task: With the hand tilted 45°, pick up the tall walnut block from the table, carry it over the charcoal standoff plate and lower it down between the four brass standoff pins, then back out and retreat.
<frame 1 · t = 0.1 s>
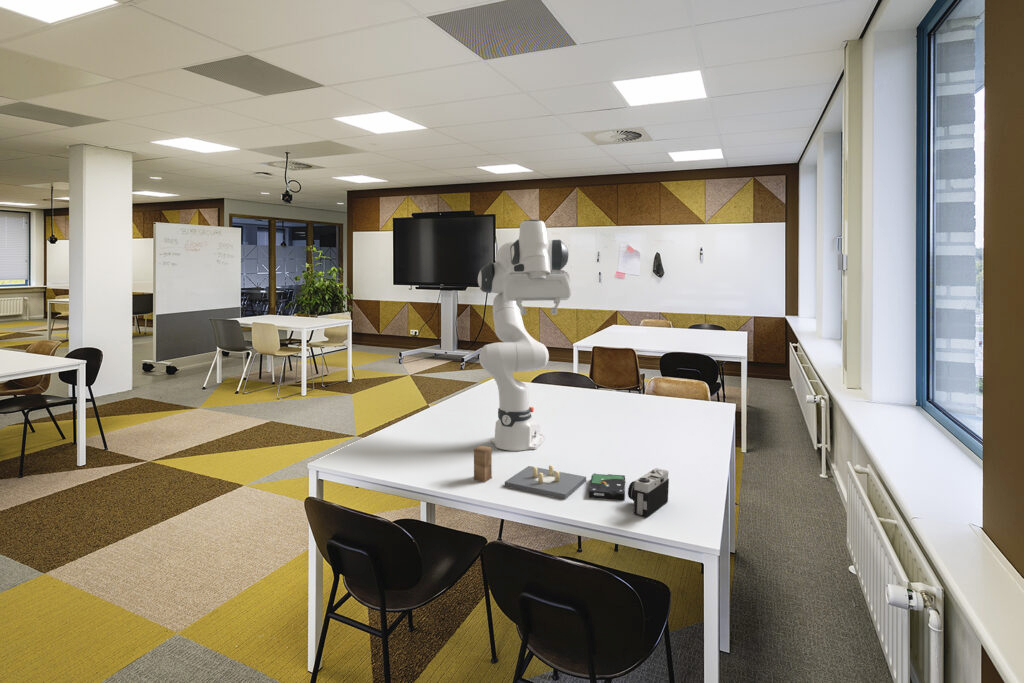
hand: (539, 314, 167), 52 cm above the table, tool tilted 20°, fingers open, 8 cm apart
standoff plate: (545, 483, 171), on the table
walnut block: (482, 479, 175), on the table
disk drive: (607, 491, 167), on the table
camera: (645, 507, 155), on the table
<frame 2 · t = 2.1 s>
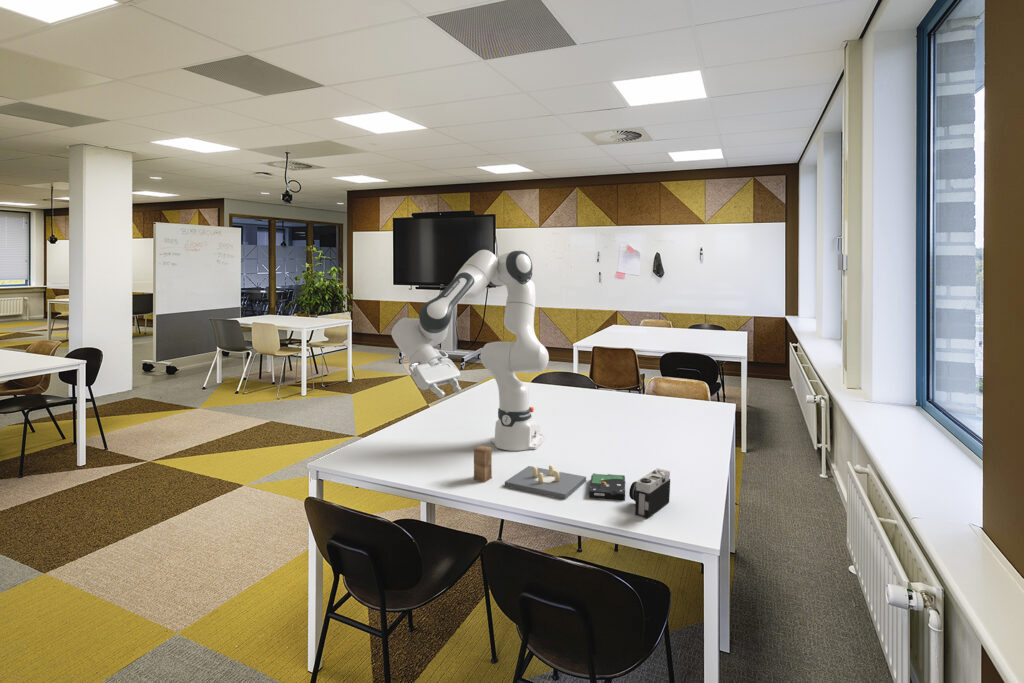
hand: (451, 394, 177), 26 cm above the table, tool tilted 45°, fingers open, 8 cm apart
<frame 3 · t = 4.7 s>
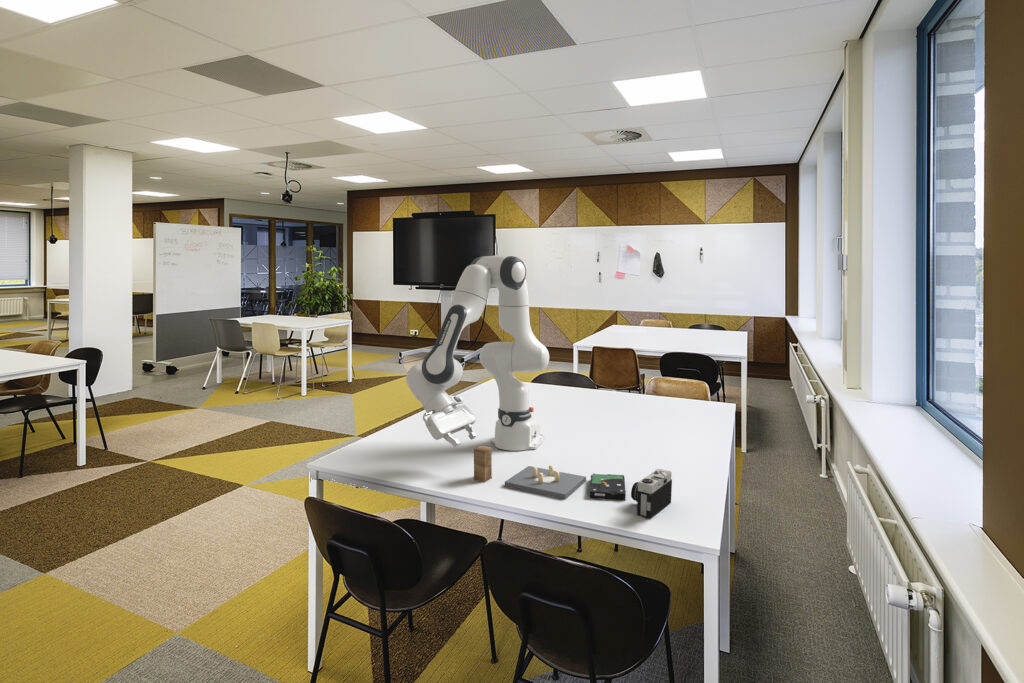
hand: (466, 441, 176), 11 cm above the table, tool tilted 45°, fingers open, 8 cm apart
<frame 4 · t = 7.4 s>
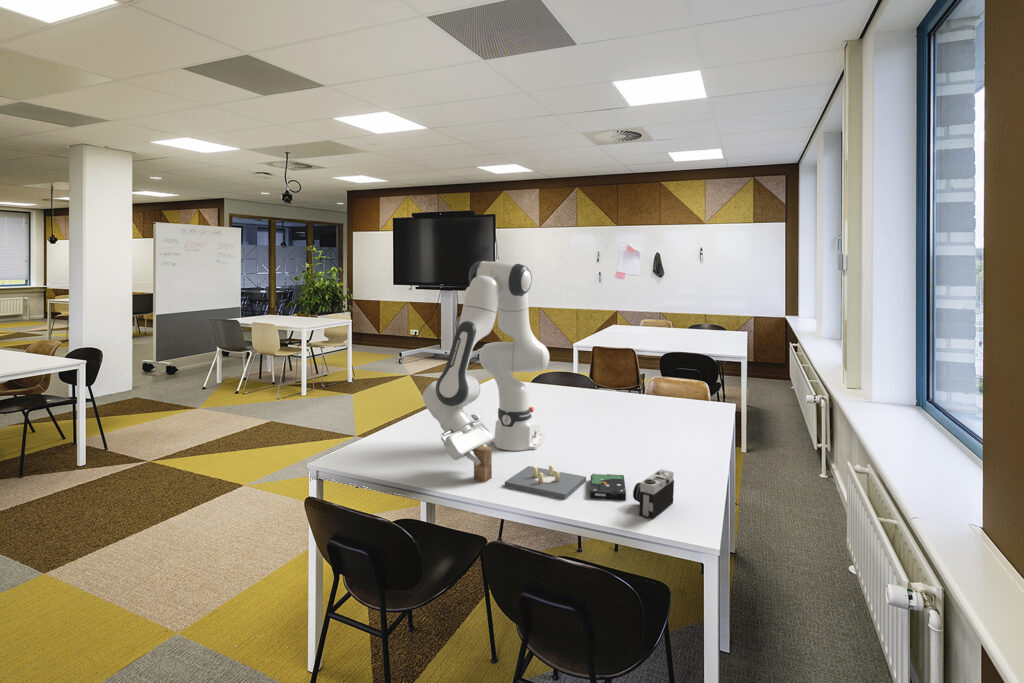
hand: (484, 461, 174), 6 cm above the table, tool tilted 45°, fingers closed on walnut block, 4 cm apart
walnut block: (482, 479, 175), on the table, touching gripper
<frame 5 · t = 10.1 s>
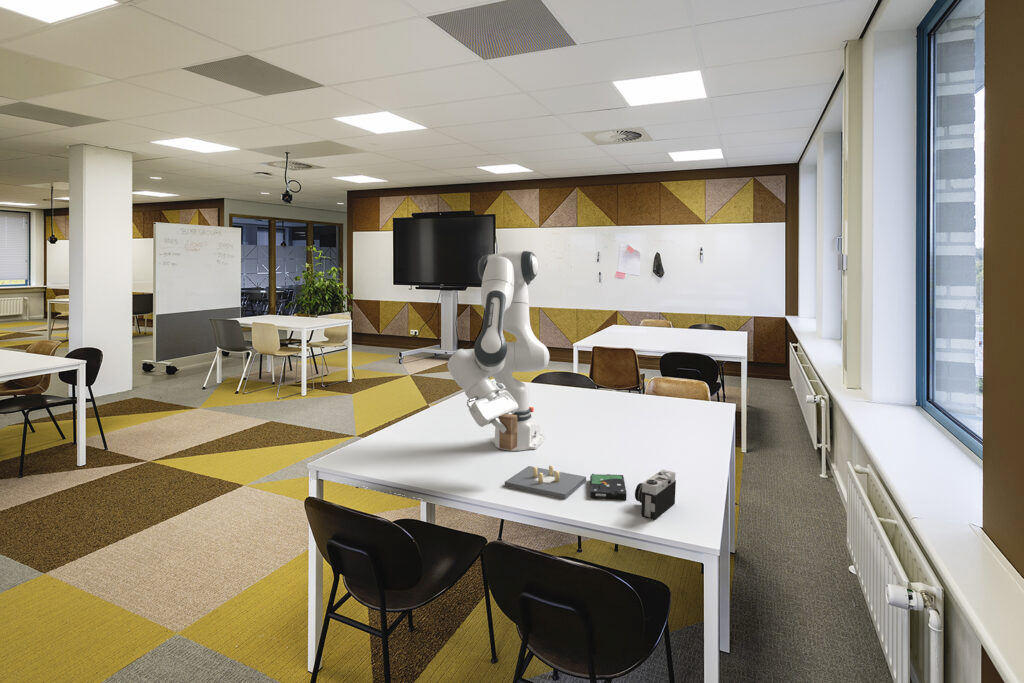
hand: (510, 429, 171), 17 cm above the table, tool tilted 45°, fingers closed on walnut block, 4 cm apart
walnut block: (508, 447, 172), point 11 cm above the table, touching gripper
when the fingers open (9 cm above the table, at t = 13.0 s): walnut block drops 1 cm, resting on standoff plate.
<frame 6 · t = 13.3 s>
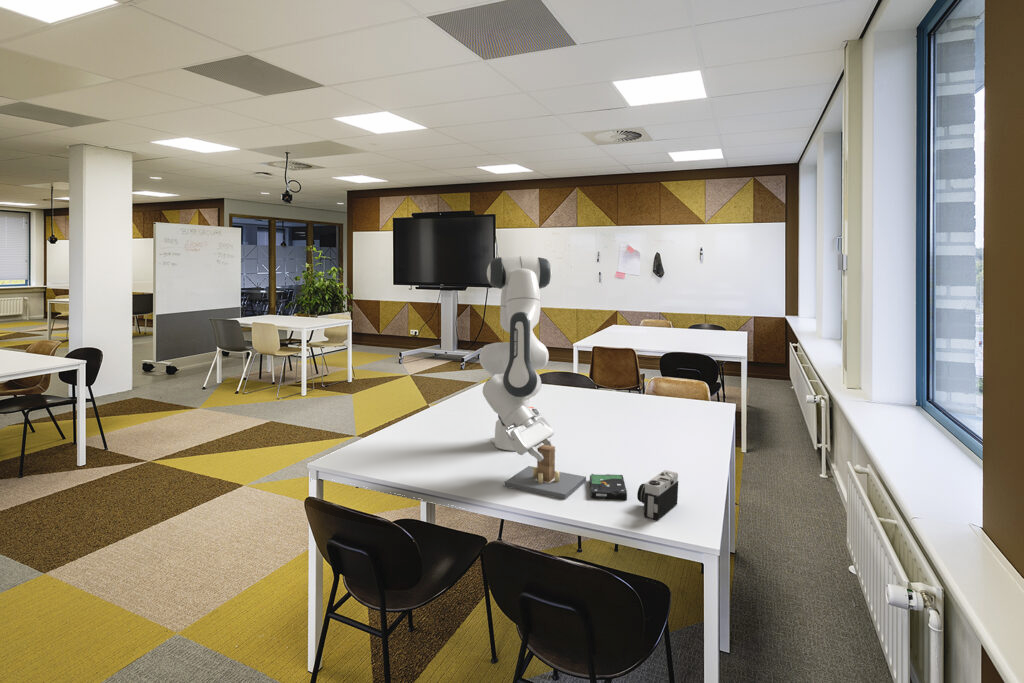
hand: (547, 456, 170), 9 cm above the table, tool tilted 45°, fingers open, 6 cm apart
walnut block: (545, 478, 171), point 2 cm above the table, touching standoff plate
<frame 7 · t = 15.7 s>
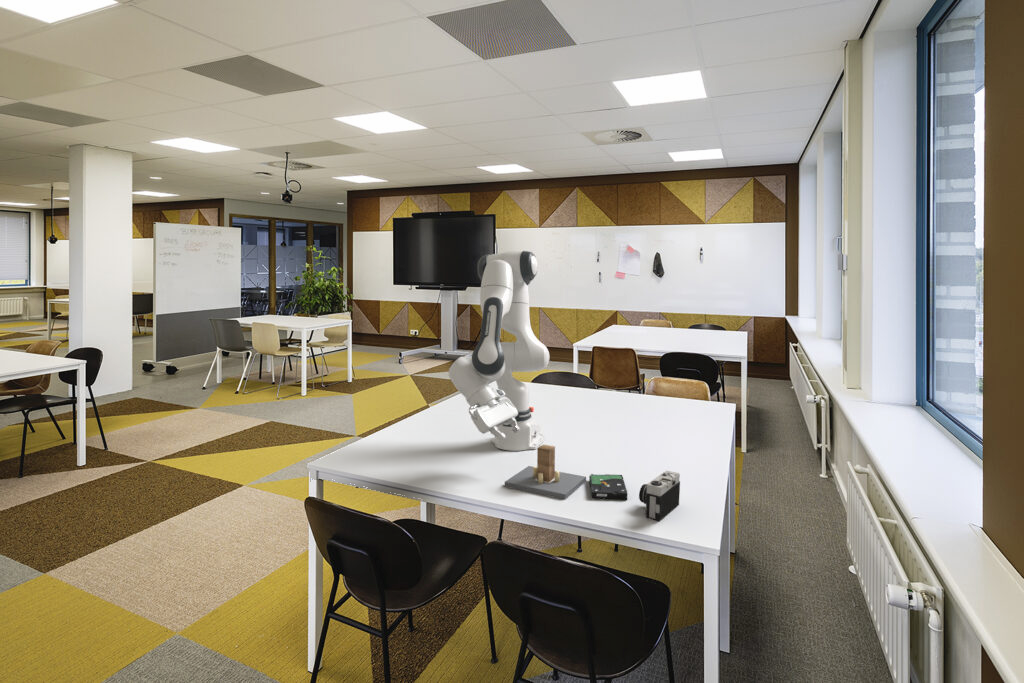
hand: (510, 435, 175), 14 cm above the table, tool tilted 45°, fingers open, 8 cm apart
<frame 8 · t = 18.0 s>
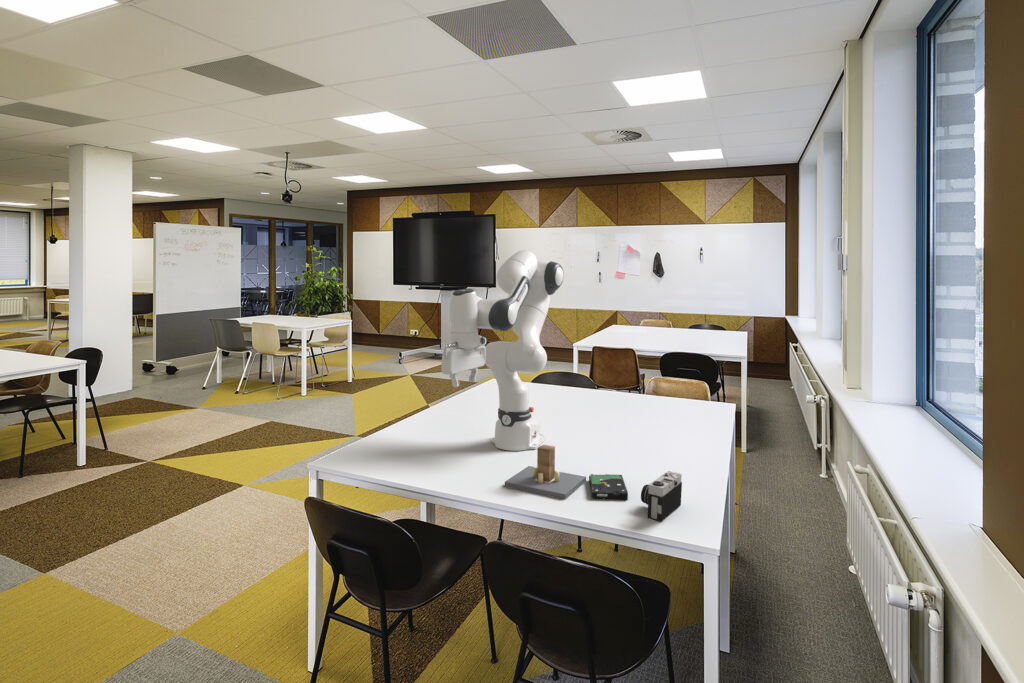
hand: (464, 384, 177), 29 cm above the table, tool pointing down, fingers open, 8 cm apart
at the end: walnut block 0.0 cm off-centre on the standoff plate, point 1.6 cm above the standoff plate's base; walnut block tilted 0°; the gripper is holding nothing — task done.
